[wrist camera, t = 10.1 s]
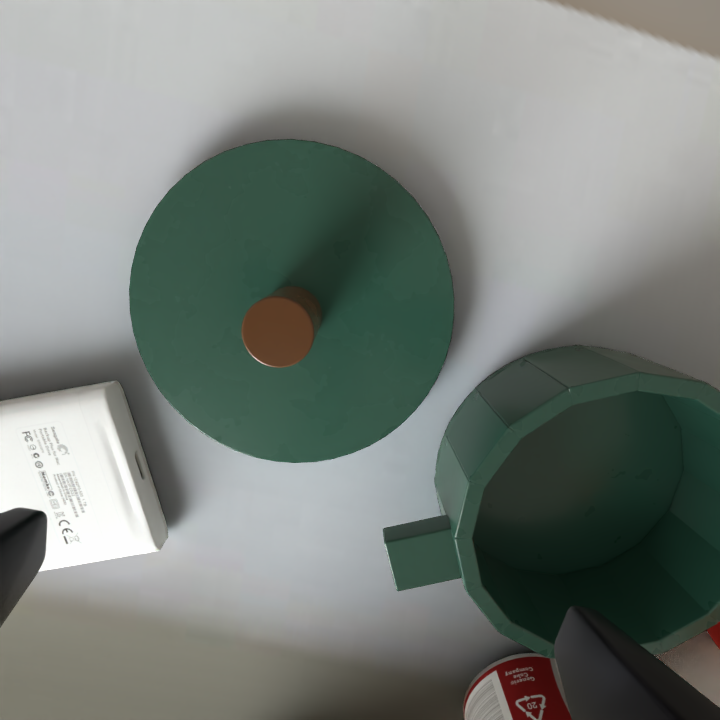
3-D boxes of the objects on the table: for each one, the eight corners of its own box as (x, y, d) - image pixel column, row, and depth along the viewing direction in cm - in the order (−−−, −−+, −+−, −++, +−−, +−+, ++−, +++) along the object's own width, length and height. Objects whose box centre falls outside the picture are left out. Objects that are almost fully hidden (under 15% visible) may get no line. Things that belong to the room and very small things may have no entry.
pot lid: (473, 417, 21) (510, 469, 16) (198, 479, 22) (152, 548, 17) (415, 108, 18) (439, 54, 13) (93, 190, 18) (-2, 169, 13)
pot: (751, 540, 23) (853, 615, 18) (409, 612, 24) (423, 701, 19) (745, 303, 20) (865, 320, 15) (354, 393, 21) (354, 436, 16)
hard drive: (-142, 424, 21) (120, 377, 20) (-70, 574, 23) (170, 534, 22) (-183, 438, 19) (101, 388, 19) (-102, 598, 21) (157, 556, 21)
